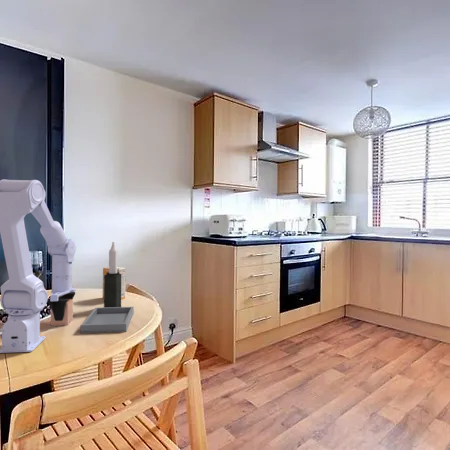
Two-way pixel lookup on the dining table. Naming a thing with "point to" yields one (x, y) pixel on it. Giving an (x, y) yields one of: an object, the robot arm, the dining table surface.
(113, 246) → the candle
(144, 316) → the dining table surface
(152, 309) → the dining table surface
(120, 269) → the supplement box
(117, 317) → the tray
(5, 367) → the dining table surface
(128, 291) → the dining table surface
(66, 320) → the cup
